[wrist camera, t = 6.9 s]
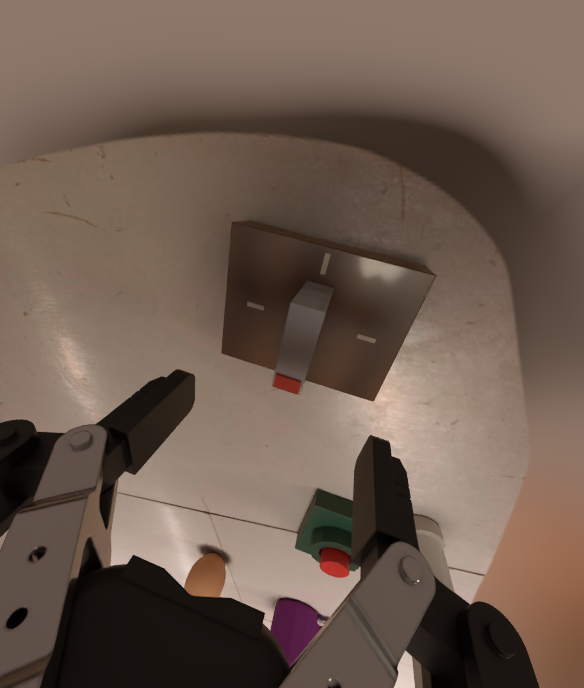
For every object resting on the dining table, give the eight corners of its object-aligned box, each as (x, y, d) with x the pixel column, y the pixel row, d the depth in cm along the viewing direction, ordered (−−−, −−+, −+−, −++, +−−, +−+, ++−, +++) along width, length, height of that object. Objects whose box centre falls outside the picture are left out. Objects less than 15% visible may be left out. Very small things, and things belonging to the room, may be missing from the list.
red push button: (325, 541, 32) (324, 558, 31) (353, 552, 32) (353, 569, 30) (318, 554, 34) (316, 570, 32) (344, 564, 34) (343, 581, 32)
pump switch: (317, 488, 33) (312, 520, 30) (385, 513, 32) (388, 549, 29) (297, 532, 39) (292, 563, 36) (354, 553, 38) (354, 587, 35)
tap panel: (426, 266, 19) (437, 275, 16) (372, 381, 24) (373, 403, 21) (248, 220, 20) (230, 221, 17) (235, 339, 26) (220, 354, 23)
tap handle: (306, 280, 18) (289, 303, 14) (334, 287, 18) (325, 314, 13) (289, 350, 21) (270, 388, 17) (312, 357, 21) (299, 398, 16)
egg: (197, 541, 49) (167, 602, 42) (229, 549, 48) (203, 615, 40) (205, 559, 52) (178, 619, 45) (235, 567, 51) (213, 631, 43)
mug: (275, 592, 52) (247, 719, 39) (353, 617, 49) (351, 764, 36) (277, 610, 56) (252, 730, 43) (348, 634, 53) (345, 771, 40)
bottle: (446, 537, 32) (625, 1220, 10) (404, 539, 34) (480, 1107, 12) (432, 512, 30) (609, 1251, 9) (389, 515, 32) (447, 1116, 11)
